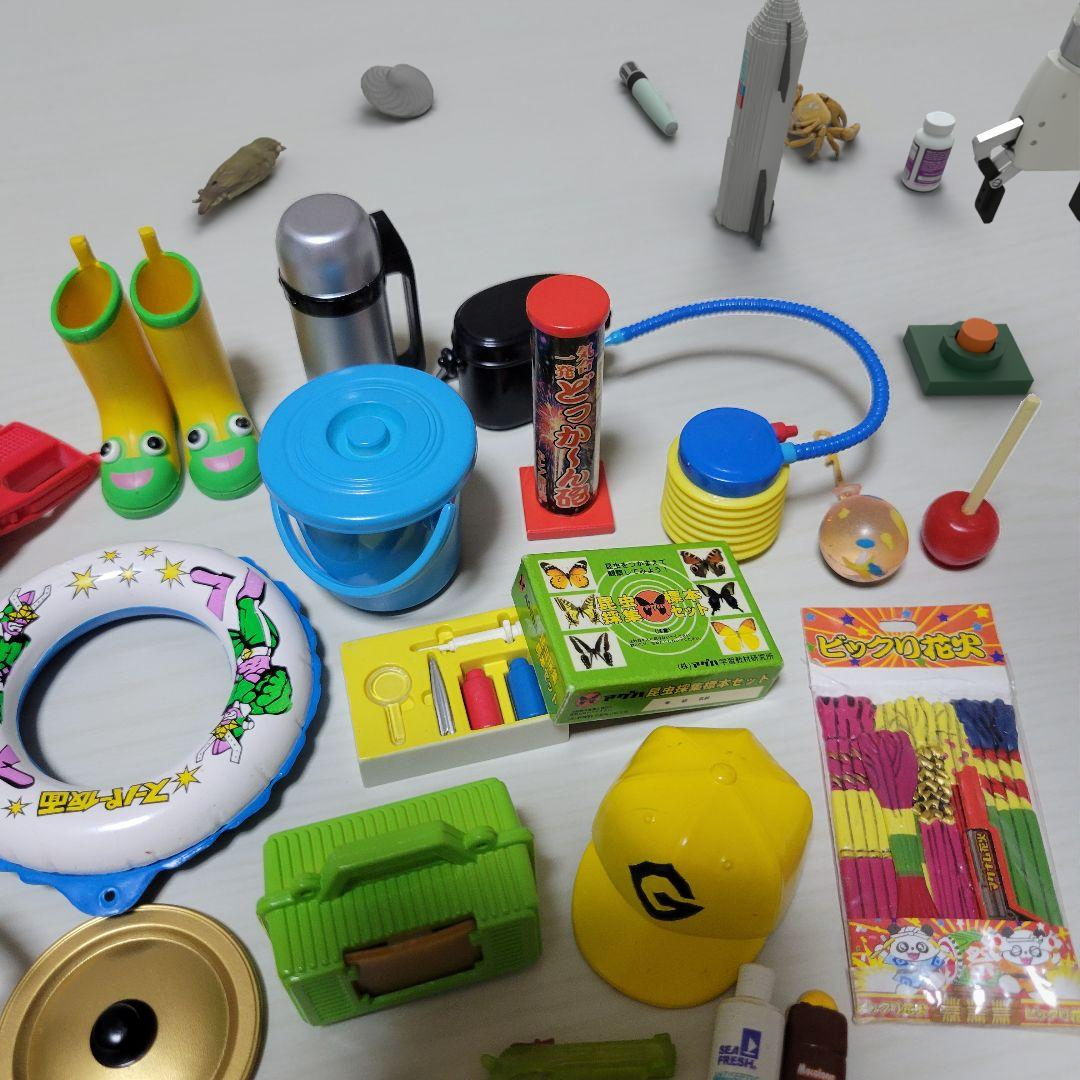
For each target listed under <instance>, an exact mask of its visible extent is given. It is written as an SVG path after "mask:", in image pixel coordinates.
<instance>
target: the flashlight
mask: <svg viewBox="0 0 1080 1080" xmlns="http://www.w3.org/2000/svg"><path fill="white" fill-rule="evenodd" d="M618 73H619V77H620V78H621V80H622V81H623V83H624V84H625V86H626V87H627V89H628V90H629V92H630V93H631V94H632V96H633V97H634V98H635V100H636V101H637V103H638V104H639V105H640V107H641V108H642V109H643V111H644V112H645V113H646V114H647V116H648V117H649V118H650V119H651V121H652V122H653V123H654V124H655V125H656V126H657V128H659V130H661V132H663V134H665V135H666V136H668V137H671V136H674V135H675V134H676V133H677V131H678V130H679V124H678V122H677V120H676V118H675V116H674V115H673V112H671V109H670V108H669V106H668V104H667V103H666V101H665V100H664V99H663V97H662V96H661V94H660V93H659V91H658V90H657V89H656V88H655V86H654V84H653V83H652V82H651V81H650V80H649V78H648V76H647V75H646V74H645V73H644V72H643V70H641V68H640V67H639V66H638V64H637V63H636V62H635V61H634V60H626V61H625V62H624V63H622V64H621V66H620V67H619V71H618Z"/></svg>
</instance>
